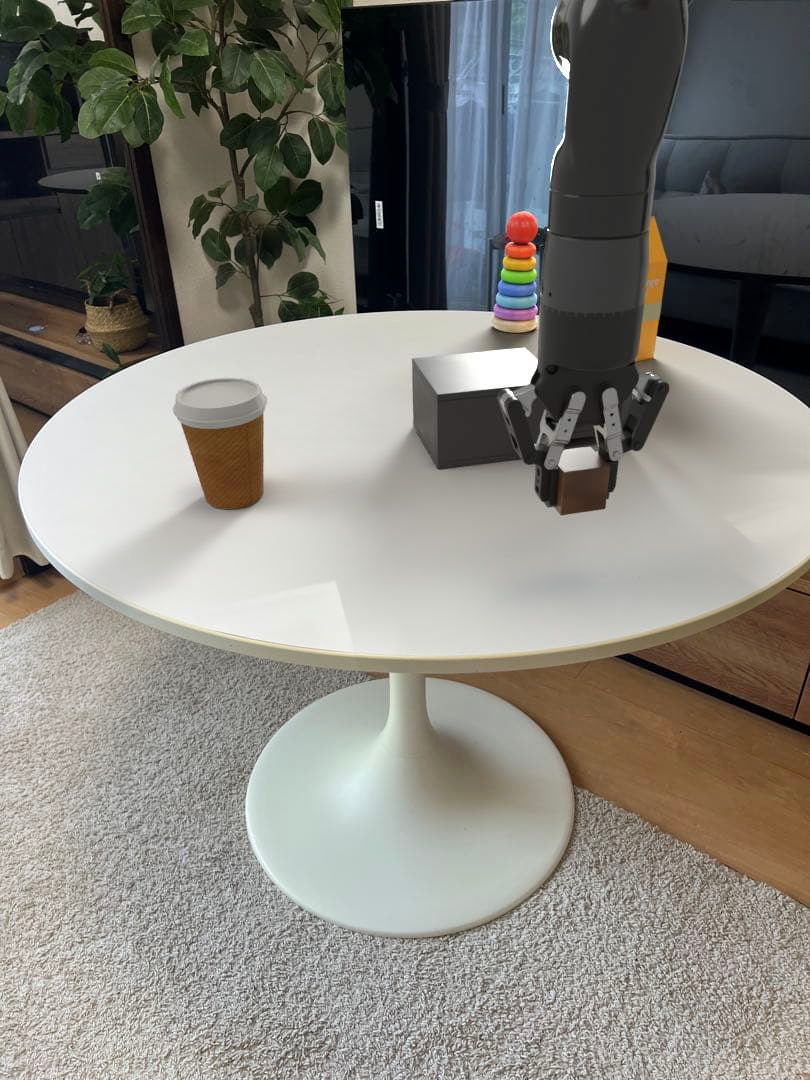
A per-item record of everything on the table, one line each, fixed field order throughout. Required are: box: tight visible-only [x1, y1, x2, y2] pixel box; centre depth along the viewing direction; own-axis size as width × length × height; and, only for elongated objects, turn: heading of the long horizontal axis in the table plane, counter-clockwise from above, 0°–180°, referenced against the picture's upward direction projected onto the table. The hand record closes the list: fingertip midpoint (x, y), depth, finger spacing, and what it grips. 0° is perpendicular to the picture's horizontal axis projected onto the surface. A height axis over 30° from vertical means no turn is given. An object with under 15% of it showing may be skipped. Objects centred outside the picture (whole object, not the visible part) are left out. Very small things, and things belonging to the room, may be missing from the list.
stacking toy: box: [491, 211, 539, 334], centre depth 132 cm, size 8×8×19 cm
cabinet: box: [411, 347, 545, 470], centre depth 95 cm, size 15×13×9 cm
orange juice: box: [635, 215, 668, 362], centre depth 118 cm, size 8×9×20 cm
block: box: [553, 446, 610, 516], centre depth 66 cm, size 4×4×4 cm
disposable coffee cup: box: [172, 377, 268, 510], centre depth 83 cm, size 10×10×12 cm
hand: (574, 498), depth 67 cm, fingers closed on block, 4 cm apart
